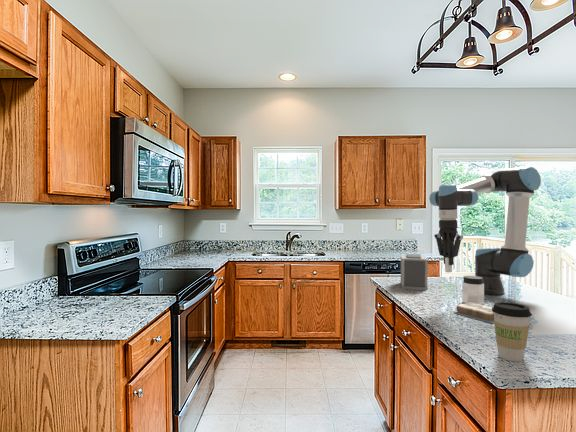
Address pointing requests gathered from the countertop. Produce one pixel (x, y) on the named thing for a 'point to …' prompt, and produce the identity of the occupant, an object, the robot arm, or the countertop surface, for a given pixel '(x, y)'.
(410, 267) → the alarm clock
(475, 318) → the mat
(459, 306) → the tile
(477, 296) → the jar
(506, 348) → the coffee cup
